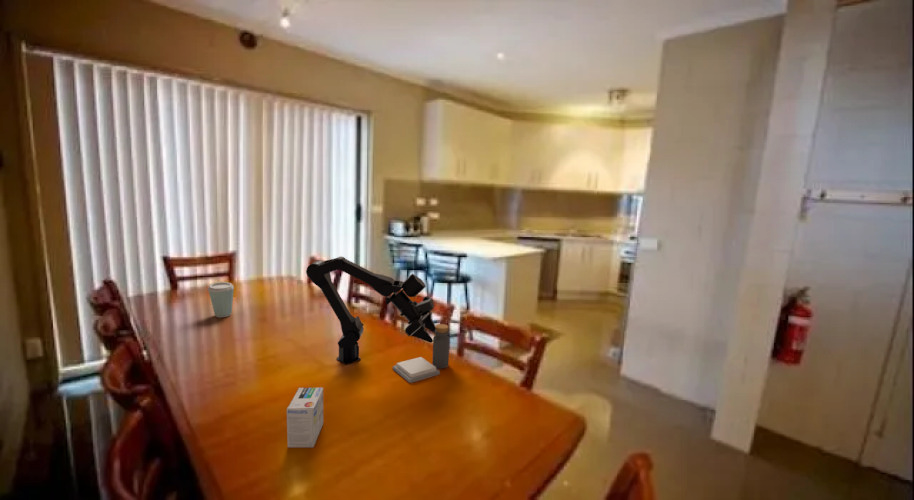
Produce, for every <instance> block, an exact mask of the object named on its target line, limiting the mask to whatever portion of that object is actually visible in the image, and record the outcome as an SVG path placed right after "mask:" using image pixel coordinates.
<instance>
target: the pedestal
mask: <svg viewBox="0 0 914 500" xmlns="http://www.w3.org/2000/svg"><path fill="white" fill-rule="evenodd" d="M392 370H393V371H394V372H396V374H398V375H399V376H401V378H403V379H404V380H405V381H407V382H408V383H410V384H412V383H415V382H418V381H422V380H426V379H428V378H433V377H436V376H439V375H440V374H441V371H440V369H438V368H436V367H435V366H434V365H432V363H430V361H428V360H426V359H425V358H423V357H422V356H419V357H415V358H410V359H407V360H404V361H400V362H396V364H395V365H393V366H392Z"/></svg>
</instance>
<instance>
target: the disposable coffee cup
mask: <svg viewBox="0 0 914 500" xmlns="http://www.w3.org/2000/svg"><path fill="white" fill-rule="evenodd" d="M234 289H235V287H234V285H233V284H232V283H231V282H227V281H219V282H217V281H216V282H213V283H211V284H209V285H208V287H207V291H208V294H209V297H210V303H211V305H212V309H213V312H214V315H215V317H216V318H227V317H230V316H231V315H232V311H233V301H234Z"/></svg>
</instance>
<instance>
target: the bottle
mask: <svg viewBox="0 0 914 500" xmlns="http://www.w3.org/2000/svg"><path fill="white" fill-rule="evenodd" d="M435 328H436V330H435V333H434V336H433V338H432V340H433V342H432V363H431V364H432V365H434V366H435V367H436V369H438V370H442V369H446V368H448V367H449V357H450V356H449V355H450V336H448V335H449V333H450V331H449V325H447V324H443V323H442V324H441V323H440V324H439V323H438V324H436V325H435Z"/></svg>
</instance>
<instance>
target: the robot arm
mask: <svg viewBox="0 0 914 500" xmlns="http://www.w3.org/2000/svg"><path fill="white" fill-rule="evenodd" d="M338 270H339V271H341V272H343V273H345V274H347V275H349V276H351V277H353V278H356V279H357V280H359V281H362V282H363V283H365V284H367V285H369V286H370V288H372V289H373V290H374V291H375V292H377V293H378V294H380V295H381V296H382V297H385V306H387V305H389V304H390V303H392V305H393V306H395V308H396V309H397V310H398V311H399V313H400V314H399V315H400V317H404V318H405V319H406V320H407V321H408V322H407V323H408V325H406V327H405V329H404V331H405V334H406V335H407V336H408V337H414V338H417V339H420V340H423V341H425V342H428V343H430V344H433V338H432V336H431V335H430V334H429V332H428V331H427V330H429V331H430V332H432V333H434V334H435V330H436V328H435V326H436V325H435V323H434V321H433V318H432V314H433V312H432V311H433V309H434V307H435V303H434V299H432V297H430V296H428V295H426V296H424V297H423V298H422V300H421V301H420V302H417V301H416V300H414V301H412V299H411V298H412V297H413V298H415V297H416V296H418V294H420V293H421V292H422V291H423V290H424V289H425V288H426V287H427V286H426V284H425V282H424V281H423V280H422V279H421V278H420V277H418V276H417V275H415V274H414V273H411V274H410V275H409V277H408V278H406V279H405V280H404V281H401V280H396V279H394V278H393V277H390V276H387V275H384V274H378V273H375V272H373V271H370V270H369V269H366V268H364V267H363V266H361V265H359V264H357V263H355V262H353V261H351V260H349V259H347V258H345V257H344V256H342V255H340V256H338V257H335V258H332V259H331V258H330V259H327V260H320V259H319V260H315V261H313V262H312V263H311V264H309V265H308V266H307V267H306V271H305V273H306V275H307V277H308V278H309V279H310V281H311V282H312V283H313V284H314V285H316V286H317V287H318V288H319V289H320V291H321V292H322V294H323V295H324V297H325V299H326V301H327V302H328V304H329V306H330V308H331V309H332V311H333V312H334V314H335V316H336V317H337V320H338V321H339V322H340V329H341V332H342V335H341V337H340V338H339V340H338V341H337V345H338V356H337V357H336V360H338V361H340V363H342V364H343V365H349V364H351V363H354V362H358V361H360V360H361V357H359V356H360V346H359V342H358V341H359V340H360V339H361V337H362V335H363V333H364V323H363V322H362V321H361V318H360V316H359V315H357V316H353V315H352V314H351V313H350V311H349V309H348V307H347V305H346V304H345V302H344V301H343V298H342V297H341V295H340V293H339V292H338V289H337V288H336V286H335V285H334V283H333V281H332V276H331V272H334V271H338Z"/></svg>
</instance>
